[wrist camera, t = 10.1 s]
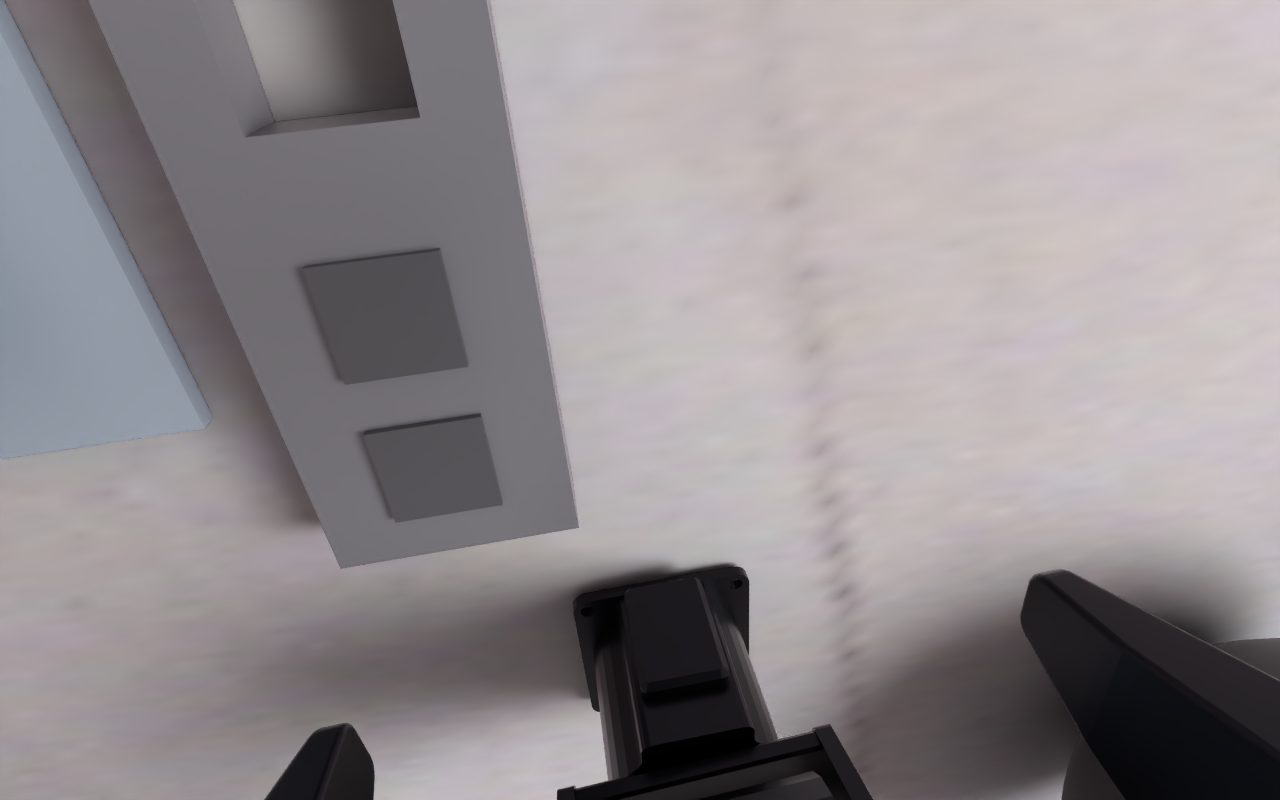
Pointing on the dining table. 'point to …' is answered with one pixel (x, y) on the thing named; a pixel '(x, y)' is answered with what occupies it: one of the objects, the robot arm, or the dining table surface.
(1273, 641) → the coal bowl
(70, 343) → the mat
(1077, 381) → the dining table surface
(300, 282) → the power strip
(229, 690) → the dining table surface
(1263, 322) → the dining table surface
